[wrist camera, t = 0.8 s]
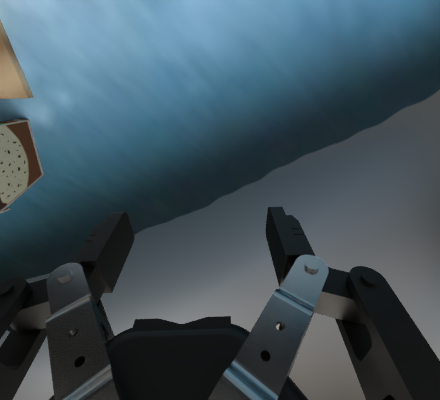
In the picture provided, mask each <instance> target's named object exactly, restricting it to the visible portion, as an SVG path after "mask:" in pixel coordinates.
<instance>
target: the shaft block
mask: <svg viewBox="0 0 440 400" xmlns="http://www.w3.org/2000/svg"><path fill="white" fill-rule="evenodd" d="M31 97H33V95H32V93H31V91H30V88H29V86H28V84H27V81H26V79H25V77H24V74H23V72H22V70H21V67H20V65H19V63H18V60H17V58H16V56H15V53H14V51H13V49H12V46H11V44H10V42H9V39H8V37H7V35H6V33H5V30H4V28H3V26H2V23H1V21H0V99H5V98H31Z"/></svg>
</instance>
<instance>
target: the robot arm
mask: <svg viewBox="0 0 440 400" xmlns="http://www.w3.org/2000/svg"><path fill="white" fill-rule="evenodd" d="M266 238H267V242H268V246H269V250H270V253H271V257H272V261H273V265H274V268H275V272H276V276H277V279H278V283H279V287H280V289H279V290H278V289H276V290H275V291H274V293H273V295H272V296H271V298H270V300H269V301H268V303H267V305H266V306H265V308H264V310H263V311H262V313H261V315H260V317H259V318H258V320H257V322H256V323H255V325H254V327H253V328H252V331H251V332H249V331H247V330H246V329H244V328H242V327H240V326H237V325H234V324H231V317H230V316H226V317H206V318H202V319H199V320H196V321H192V322H189V323H186V324H177V323H174V322H170V321H166V320H162V319H136V320H135V322H134V325H133V328H130V329H128V330H125V331H123V332H121V333H120V334H118V335H116V336H115V335H114V333H113V331H112V328H111V325H110V323H109V320H108V317H107V315H106V312H105V309H104V306H103V303H102V301H101V299H100V298H101V296H102V294H103V293H112V292H113V289H114V287H115V285H116V282H117V280H118V278H119V275H120V273H121V271H122V268H123V266H124V263H125V261H126V259H127V256H128V254H129V252H130V250H131V247H132V245H133V242H134V231H133V228H132V225H131V222H130V219H129V216H128V214H127V213H126V212H112V213H111V214H110V215H109V217H108V218H107V220H106V221H105V222H101V223H100V224H99V225H97V226H96V227H95V228H94V229H93V231H92V232H91V234H90V236H89V237H88V238H87V240H86V242H84V244H83V245H82V247H81V248H80V250H79V251H78V253H77V254H76V256H75V257H74V259H73V260H72V261H71V263H68V264H65V265H62V266H60V267H59V268H57V269H56V270H54V271H53V272H52V273H51V274H50V275H49V277H48V278H47V279H43V280H40V281H36V282H33V283H28V282H27V281H26V280H25V279H24V278H22V277H15V278H11V279H8V280H5V281H3V282H1V283H0V339H1V337H2V336H3V334H4V333H5V331H6V330H7V329H8V327H9V326H11V327H12V328H13V329H12V330H11V332H10V333H9V335H8V336H7V338H6V340H5V341H4V342H3V344H2V346H1V347H0V400H12V399H13V397H14V396H15V394H16V392H17V390H18V388H19V386H20V384H21V382H22V381H23V379H24V377H25V375H26V373H27V371H28V369H29V368H30V366H31V364H32V362H33V360H34V358H35V357H36V355H37V353H38V351H39V349H40V347H41V345H42V343H43V342H44V340H45V338H46V336H47V339H48V348H49V356H50V364H51V373H52V381H53V389H54V395H53V396H52V397H51V398H50V399H49V400H308V399H307V398H306V396H305V395H304V394H303V393H302V392H301V390H300V389H299V388H298V387H297V386H296V384H295V383H294V382H293V381H292V380H291V379H290V378H289V374H290V372H291V369H292V367H293V364H294V362H295V359H296V357H297V354H298V351H299V349H300V346H301V344H302V341H303V339H304V336H305V334H306V331H307V329H308V326H309V324H310V321H311V318H312V315H313V313H314V312H315V313H319V314H322V315H326V316H329V317H333V318H335V319H336V322H337V324H338V327H339V330H340V332H341V335H342V338H343V340H344V343H345V346H346V348H347V350H348V353H349V356H350V359H351V361H352V364H353V366H354V369H355V372H356V374H357V377H358V380H359V382H360V384H361V387H362V390H363V393H364V395H365V398H366V400H440V361H439V359H438V358H437V356H436V355H435V353H434V352H433V350H432V349H431V347H430V346H429V344H428V343H427V341H426V340H425V338H424V337H423V335H422V334H421V332H420V331H419V329H418V328H417V326H416V325H415V323H414V322H413V320H412V319H411V317H410V315H409V314H408V313H407V311H406V310H405V308H404V307H403V305H402V303H401V302H400V301H399V299H398V297H397V296H396V295H395V293H394V291H393V290H392V289H391V287H390V285H389V284H388V283H387V281H386V279H385V278H384V277H383V276H382V275H381V274H380V273H378V272H376V271H375V270H373V269H371V268H368V267H362V266H357V267H354V268H352V269H351V271H350V273H349V272H344V271H340V270H336V269H332V268H329V267H327V265H326V263H325V262H324V261H322V260H321V259H320V258H318V257H316V256H315V254H314V252H313V250H312V248H311V247H310V244H309V242H308V240H307V238H306V236H305V234H304V231H303V229H302V227H301V225H300V223H299V221H298V220H297V219H296V218H294V217H293V216H292V215H288V216H287V215H286V214H285V212H284V210H283V207H269V208H268V213H267V221H266Z"/></svg>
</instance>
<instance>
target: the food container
mask: <svg viewBox="0 0 440 400" xmlns="http://www.w3.org/2000/svg"><path fill="white" fill-rule="evenodd" d="M43 175H44V174H43V170H42V166H41V163H40V159H39V155H38V152H37V148H36V144H35V140H34V137H33V133H32V129H31V126H30V122H29V119H15V120H10V121H4V122H0V213H4V212H6V211H8V210H10V208H7V207H8V206H9V205H10V204H11V203H12V202H14V201H15V200H16V199H17V198H18V197H19V196H20V195H22V194H23V193H24V192H25V191H26V190H27V189H28V188H30V187H31V186H32V185H33V184H34V183H35V182H37V181H38V180H39V179H40V178H41V177H42V176H43Z"/></svg>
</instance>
